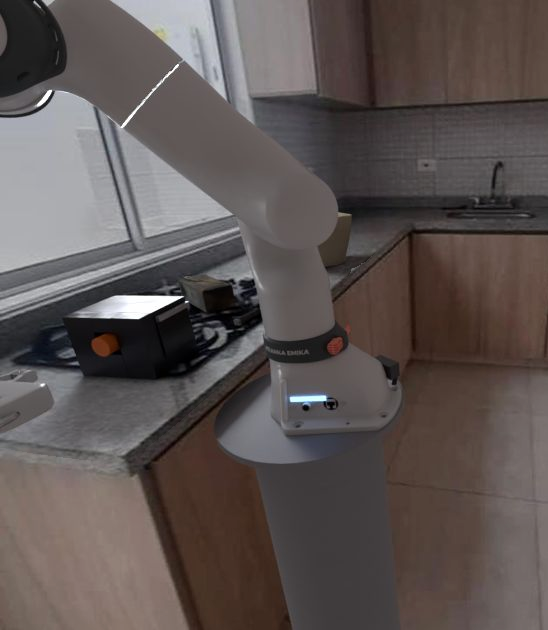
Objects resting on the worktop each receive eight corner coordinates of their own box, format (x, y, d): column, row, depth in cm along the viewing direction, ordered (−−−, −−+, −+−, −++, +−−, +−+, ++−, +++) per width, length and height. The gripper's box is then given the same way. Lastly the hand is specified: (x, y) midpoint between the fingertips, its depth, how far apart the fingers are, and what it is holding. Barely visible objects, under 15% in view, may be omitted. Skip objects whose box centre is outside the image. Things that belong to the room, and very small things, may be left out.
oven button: (126, 348, 81) (121, 331, 80) (112, 357, 78) (106, 338, 77) (110, 348, 82) (104, 330, 81) (95, 356, 79) (88, 338, 78)
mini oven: (202, 350, 91) (188, 296, 87) (161, 379, 80) (143, 319, 76) (132, 348, 94) (115, 295, 90) (83, 375, 83) (61, 317, 79)
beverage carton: (210, 292, 129) (205, 270, 127) (238, 306, 116) (233, 283, 114) (182, 299, 124) (176, 277, 122) (207, 315, 111) (201, 290, 109)
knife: (277, 293, 120) (292, 294, 119) (278, 299, 121) (293, 300, 119) (227, 318, 103) (245, 319, 102) (229, 325, 104) (246, 327, 102)
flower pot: (331, 254, 167) (325, 209, 161) (358, 263, 153) (353, 214, 147) (283, 264, 156) (275, 216, 150) (307, 274, 142) (300, 222, 136)
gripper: (-26, 412, 51) (80, 357, 63) (-159, 402, 54) (-34, 352, 67) (-4, 457, 53) (94, 395, 66) (-133, 444, 57) (-17, 388, 69)
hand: (29, 373), depth 66 cm, fingers closed
